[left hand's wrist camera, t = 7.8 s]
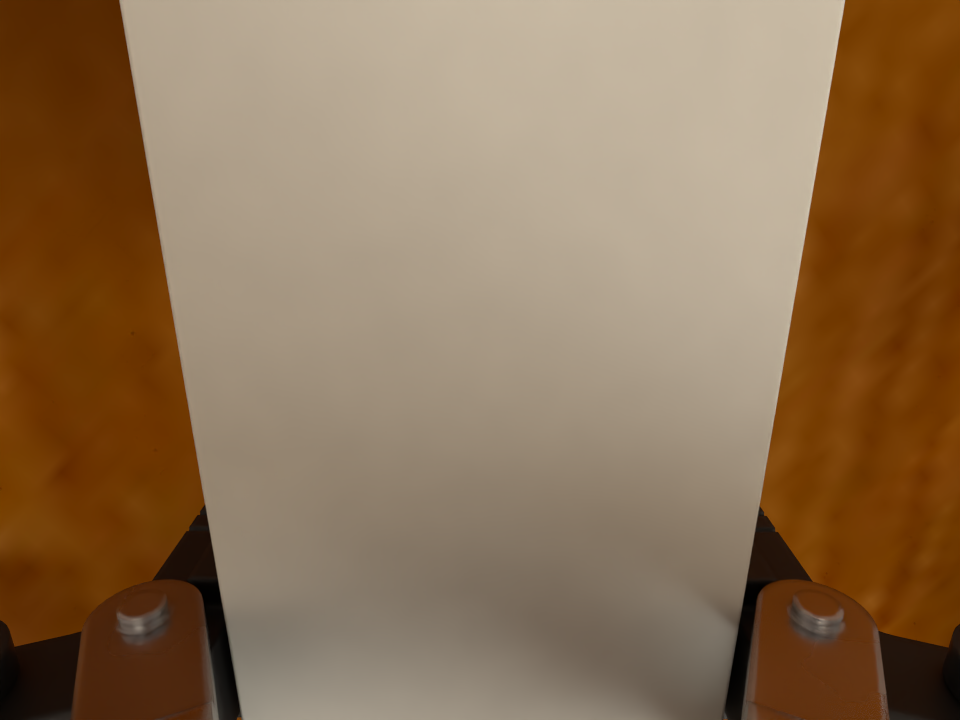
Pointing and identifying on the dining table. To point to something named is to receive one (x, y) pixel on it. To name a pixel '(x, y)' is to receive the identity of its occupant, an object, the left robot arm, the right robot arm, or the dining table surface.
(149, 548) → the dining table surface
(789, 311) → the bar
